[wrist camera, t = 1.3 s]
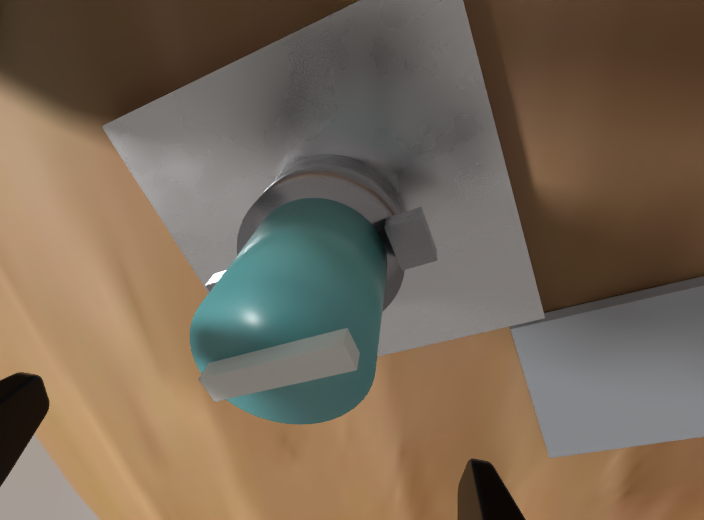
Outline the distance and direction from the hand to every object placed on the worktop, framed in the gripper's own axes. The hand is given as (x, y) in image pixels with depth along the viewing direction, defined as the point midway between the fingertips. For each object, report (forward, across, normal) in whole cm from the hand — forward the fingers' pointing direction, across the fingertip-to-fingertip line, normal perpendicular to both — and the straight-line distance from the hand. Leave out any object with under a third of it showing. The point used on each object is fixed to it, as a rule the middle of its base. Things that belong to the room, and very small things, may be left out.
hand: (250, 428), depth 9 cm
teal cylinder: (+7, 0, 0) cm, 7 cm away
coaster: (+11, -15, +6) cm, 19 cm away
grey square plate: (+11, 0, 0) cm, 11 cm away
